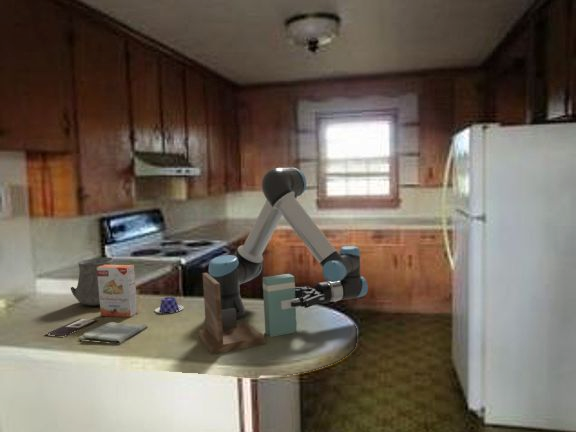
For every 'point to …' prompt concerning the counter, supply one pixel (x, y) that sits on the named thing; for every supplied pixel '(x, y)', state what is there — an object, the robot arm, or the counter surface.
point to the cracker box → (117, 290)
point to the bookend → (229, 318)
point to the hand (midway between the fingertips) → (274, 300)
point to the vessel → (89, 281)
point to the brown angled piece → (213, 333)
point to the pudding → (168, 305)
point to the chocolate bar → (72, 327)
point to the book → (279, 304)
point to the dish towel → (113, 332)
